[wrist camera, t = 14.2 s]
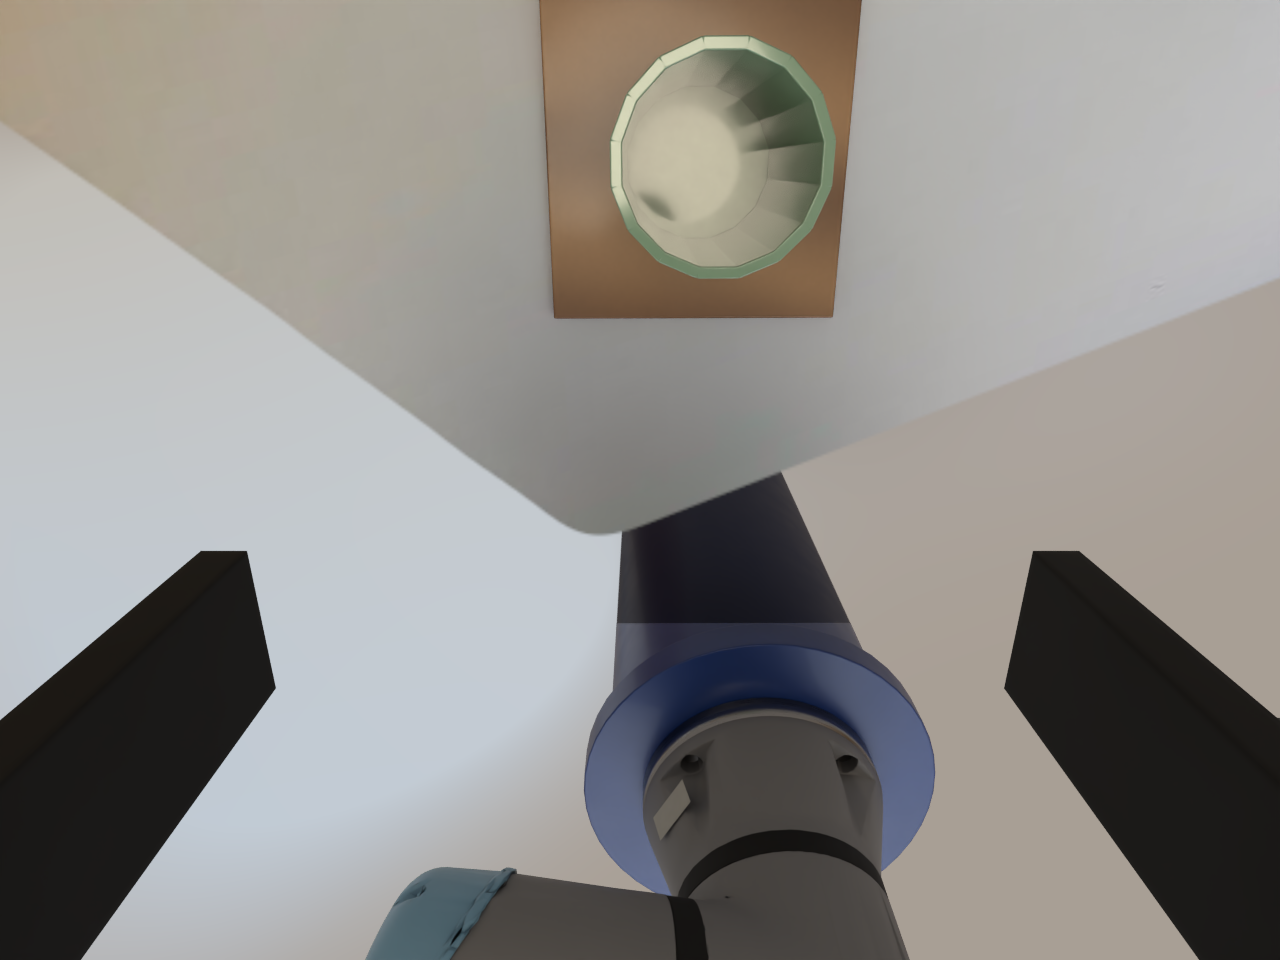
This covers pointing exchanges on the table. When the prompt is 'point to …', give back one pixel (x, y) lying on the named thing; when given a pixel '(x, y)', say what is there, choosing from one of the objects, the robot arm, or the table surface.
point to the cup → (722, 156)
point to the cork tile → (580, 153)
